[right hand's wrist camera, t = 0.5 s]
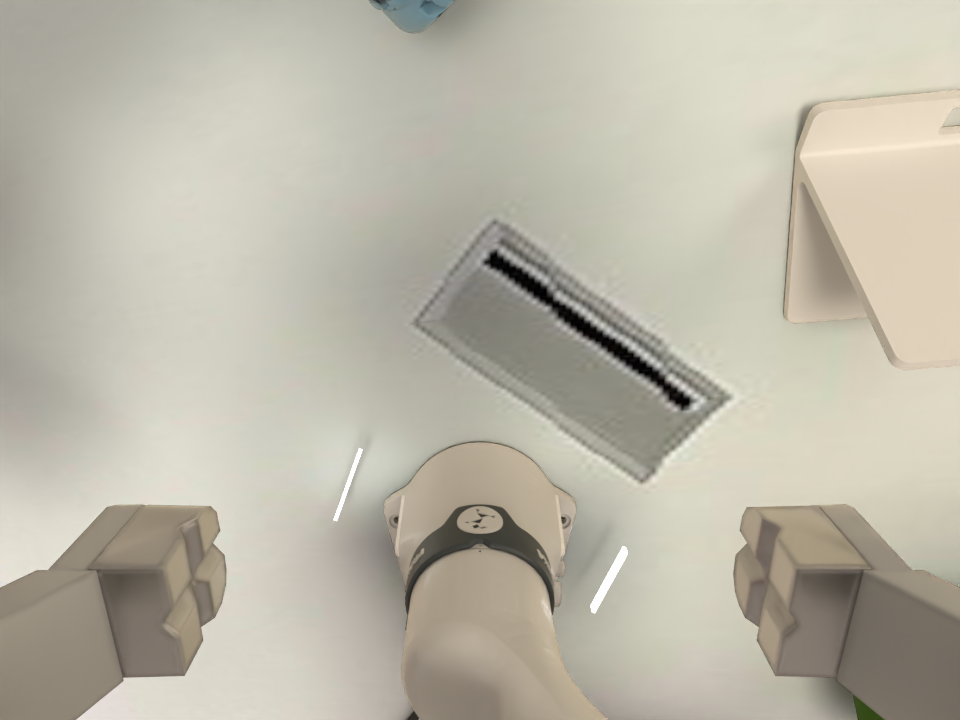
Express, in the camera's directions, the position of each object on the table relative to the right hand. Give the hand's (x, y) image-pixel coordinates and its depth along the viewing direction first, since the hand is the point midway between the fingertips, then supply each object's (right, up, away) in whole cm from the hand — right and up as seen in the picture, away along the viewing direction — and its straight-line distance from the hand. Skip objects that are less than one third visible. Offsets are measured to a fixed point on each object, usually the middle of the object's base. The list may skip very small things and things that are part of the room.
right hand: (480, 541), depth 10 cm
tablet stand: (+38, +16, +45) cm, 61 cm away
